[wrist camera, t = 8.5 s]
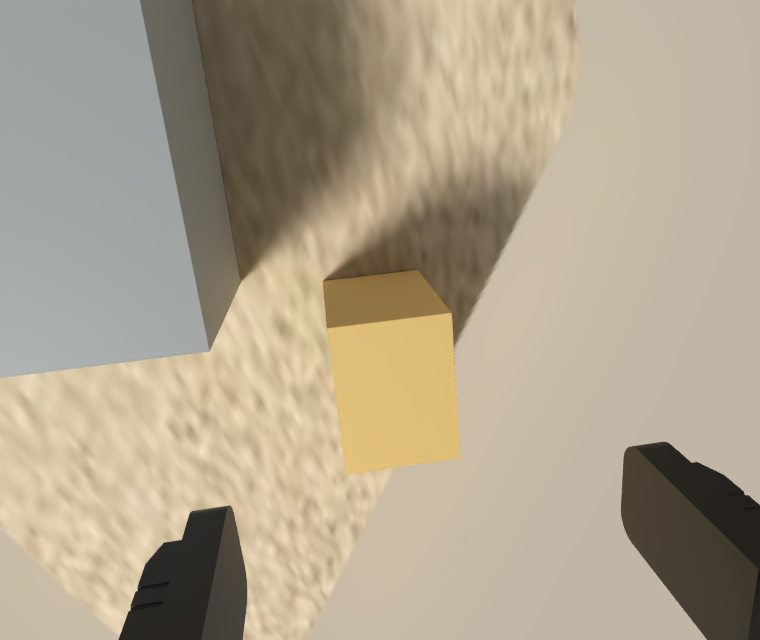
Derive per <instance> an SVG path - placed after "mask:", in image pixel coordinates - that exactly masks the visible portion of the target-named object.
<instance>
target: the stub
mask: <svg viewBox="0 0 760 640" xmlns="http://www.w3.org/2000/svg"><path fill="white" fill-rule="evenodd" d="M323 289H324V300H325V311H326V322H327V331H328V339H329V347H330V355H331V362H332V370H333V378H334V386H335V393H336V401H337V409H338V417H339V424H340V432H341V440H342V448H343V455H344V463H345V471H346V475H348V474H355V473H362V472H369V471H376V470H383V469H390V468H396V467H403V466H410V465H417V464H424V463H431V462H438V461H444V460H450V459H458V458H460V447H459V429H458V414H457V413H458V412H457V396H456V378H455V361H454V343H453V326H452V313H451V311H450V310H449V309H448V307H447V306H446V305H445V304H444V302H443V301H442V300H441V299H440V297H439V296H438V295H437V294H436V292H435V291H434V290H433V288H432V287H431V286H430V285H429V283H428V282H427V281H426V280H425V278H424V277H423V276H422V275H421V273H420V272H419V271H418V270H411V271H403V272H395V273H386V274H378V275H369V276H361V277H353V278H344V279H336V280H327V281H323Z"/></svg>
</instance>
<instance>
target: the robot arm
mask: <svg viewBox="0 0 760 640" xmlns="http://www.w3.org/2000/svg"><path fill="white" fill-rule="evenodd" d="M621 516H622V521H623V525H624V528H625V531H626V533H627V535H628V537H629V539H630V541H631V542H632V544H633V545H634V546H635V548H636V549H637V550H638V551H639V552H640V554H641V555H642V557H643V558H644V559H645V560H646V562H647V563H648V564H649V565H650V567H651V568H652V569H653V571H654V572H655V573H656V575H657V576H658V577H659V578H660V580H661V581H662V582H663V584H664V585H665V586H666V587H667V589H668V590H669V591H670V593H671V594H672V595H673V596H674V598H675V599H676V600H677V601H678V603H679V604H680V605H681V607H682V608H683V609H684V611H685V612H686V613H687V614H688V616H689V617H690V618H691V619H692V621H693V622H694V623H695V624H696V626H697V627H698V629H699V630H700V631H701V632H702V634H703V635H704V636H705V638H706V639H707V640H760V505H759V504H758V503H757V502H755V501H754V500H753V499H752V498H751V497H749V496H748V495H747V496H745V495H744V492H743V491H742V490H741V489H740V488H739V487H738V486H736V485H735V484H734V483H733V482H732V481H731V480H729V479H728V478H727V477H725V475H722V474H721V473H719V472H717V471H714V470H713V469H710V468H708V467H706V466H704V465H702V464H700V463H698V462H695V463H691V462H690V461H689V460H688V459H687V458H685V457H684V456H683V455H682V454H681V453H680V452H679V451H677V450H676V449H675V448H674V447H673V446H672V445H670V444H669V443H667V442H659V443H652V444H645V445H638V446H632V447H628V448H627V449H626V451H625V453H624V464H623V481H622V499H621ZM246 606H247V579H246V571H245V565H244V560H243V556H242V551H241V546H240V541H239V536H238V531H237V526H236V521H235V517H234V512H233V509H232V507H231V506H223V507H217V508H210V509H203V510H197V511H192V512H191V513H190V515H189V518H188V521H187V524H186V528H185V531H184V535H183V538H182V540H179V541H173V542H166V543H163V545H162V546H161V547H160V548H159V549H158V550H157V552H156V553H155V554H154V555H153V556H152V557H151V558H150V560H149V561H148V562H147V563H146V565H145V567H144V570H143V573H142V576H141V579H140V581H139V584H138V591H137V592H136V593H135V595H134V598H133V601H132V604H131V611H129V612H128V615H127V618H126V621H125V623H124V626H123V629H122V632H121V635H120V637H119V640H243V631H244V623H245V615H246Z"/></svg>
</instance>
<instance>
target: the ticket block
mask: <svg viewBox="0 0 760 640" xmlns="http://www.w3.org/2000/svg"><path fill="white" fill-rule="evenodd" d="M240 283H241V281H240V275H239V269H238V264H237V258H236V252H235V246H234V240H233V235H232V229H231V223H230V217H229V212H228V206H227V200H226V194H225V189H224V183H223V177H222V171H221V165H220V160H219V154H218V148H217V142H216V137H215V131H214V125H213V119H212V114H211V108H210V102H209V96H208V90H207V85H206V79H205V73H204V67H203V62H202V56H201V50H200V44H199V39H198V33H197V27H196V21H195V15H194V10H193V4H192V0H0V378H4V377H12V376H20V375H28V374H35V373H43V372H51V371H59V370H67V369H75V368H83V367H91V366H99V365H106V364H114V363H122V362H130V361H138V360H146V359H154V358H162V357H170V356H177V355H185V354H193V353H201V352H209V351H210V349H211V347H212V345H213V342H214V340H215V338H216V336H217V334H218V331H219V329H220V327H221V325H222V323H223V320H224V318H225V316H226V314H227V312H228V309H229V307H230V305H231V303H232V300H233V298H234V296H235V294H236V292H237V289H238V287H239V285H240Z"/></svg>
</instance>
